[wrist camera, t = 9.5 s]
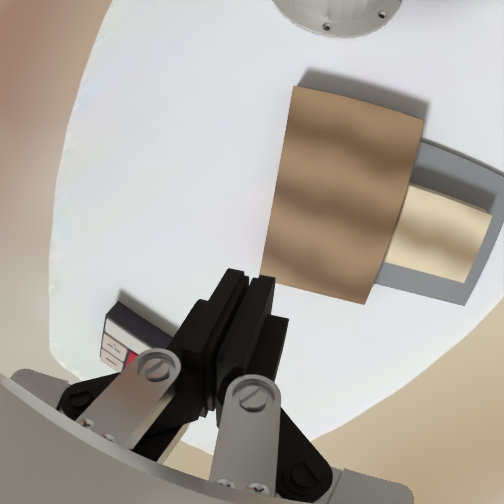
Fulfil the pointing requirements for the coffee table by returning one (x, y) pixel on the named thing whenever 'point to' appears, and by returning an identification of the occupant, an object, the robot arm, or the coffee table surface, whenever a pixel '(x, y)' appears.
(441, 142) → the coffee table surface
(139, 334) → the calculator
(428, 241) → the oak tile
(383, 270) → the rubber mat
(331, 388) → the coffee table surface
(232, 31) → the coffee table surface
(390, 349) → the coffee table surface
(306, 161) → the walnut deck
